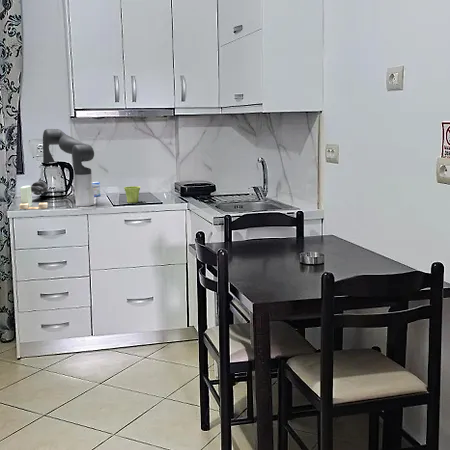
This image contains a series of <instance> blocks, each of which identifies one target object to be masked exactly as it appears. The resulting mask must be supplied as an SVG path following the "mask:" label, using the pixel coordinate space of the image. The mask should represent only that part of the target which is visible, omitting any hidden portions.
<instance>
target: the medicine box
mask: <svg viewBox="0 0 450 450" xmlns="http://www.w3.org/2000/svg"><path fill="white" fill-rule="evenodd" d="M92 187H93V188H94V198H97V196H98V197H101V196H102V194H101V182H100V181H92Z"/></svg>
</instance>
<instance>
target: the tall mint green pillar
mask: <svg viewBox="0 0 450 450" xmlns="http://www.w3.org/2000/svg"><path fill="white" fill-rule="evenodd" d="M31 186H32V185H24V186H21V187H20V188H19V189H20V190H19V191H20V204H21V203H29V207H33V197H32V196H33V195H32V194H33V193H31Z"/></svg>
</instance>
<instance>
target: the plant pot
mask: <svg viewBox="0 0 450 450" xmlns="http://www.w3.org/2000/svg"><path fill="white" fill-rule="evenodd" d="M141 188H142V187H141V186H138V185H137V186H135V185H134V186H133V185H131V186H124V187H123V189H124V191H125V196H126V201H127V203H128V204H136V203H139V199H140V197H139V196H140V190H141Z"/></svg>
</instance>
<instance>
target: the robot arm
mask: <svg viewBox="0 0 450 450" xmlns="http://www.w3.org/2000/svg"><path fill="white" fill-rule="evenodd" d="M50 145H51V146H52V145H56V146H57V145H58V147H59V148H60V150H61V151H62V152H63V153H65V154H66V153H67V154H69V155H71V158H72V166H73V174H74V176H73V177H74V194H75V195H74V196H75V206H76V207H90V206H94V205H95V197H94V188H93V187H92V182H93V180H92V179H93V177H92V175H93V174H92V169H91V168H90V167H86V166H84V165H83V163H85V162H90V161H92V160H93V159H94V157H95V150H94V148H93V147H92V146H91V145H90V144H87V143H83V142H81V141H79V140H78V139H76V138H74V137H72V136H70V135H68V134H66V133H65V132H64V131H63V130H61V129H58V128H46V129H45V130H44V131H43V134H42V155H43V159H42V164H43V163H49V162H55V159H54V157H53V155H52V154H51V151H50ZM82 162H83V163H82ZM41 178H42V177H40V178H38V181H35V182H33V184H31V185H30V186H31V193H32V194H33V195H37V196H40V195H42V194H44V193H48V192H49V191H48V187H47V184H46V182H45V181H43V180H41Z"/></svg>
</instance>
